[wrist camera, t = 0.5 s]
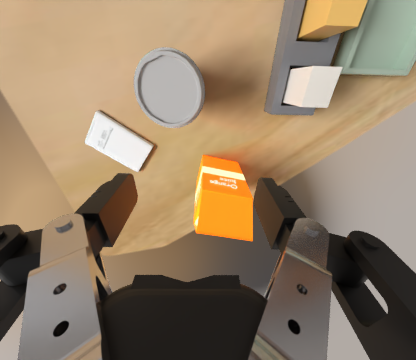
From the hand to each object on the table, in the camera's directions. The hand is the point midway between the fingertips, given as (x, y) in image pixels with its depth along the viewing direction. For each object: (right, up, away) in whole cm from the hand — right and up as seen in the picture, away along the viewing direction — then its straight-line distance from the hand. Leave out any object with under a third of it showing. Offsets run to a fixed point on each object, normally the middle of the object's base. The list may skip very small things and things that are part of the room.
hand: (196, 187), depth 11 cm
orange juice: (+3, +2, +30) cm, 31 cm away
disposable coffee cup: (-5, +18, +21) cm, 28 cm away
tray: (+30, +26, +16) cm, 43 cm away
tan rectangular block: (+17, +26, +16) cm, 35 cm away
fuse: (+16, +18, +21) cm, 32 cm away
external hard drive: (-19, +9, +27) cm, 34 cm away
